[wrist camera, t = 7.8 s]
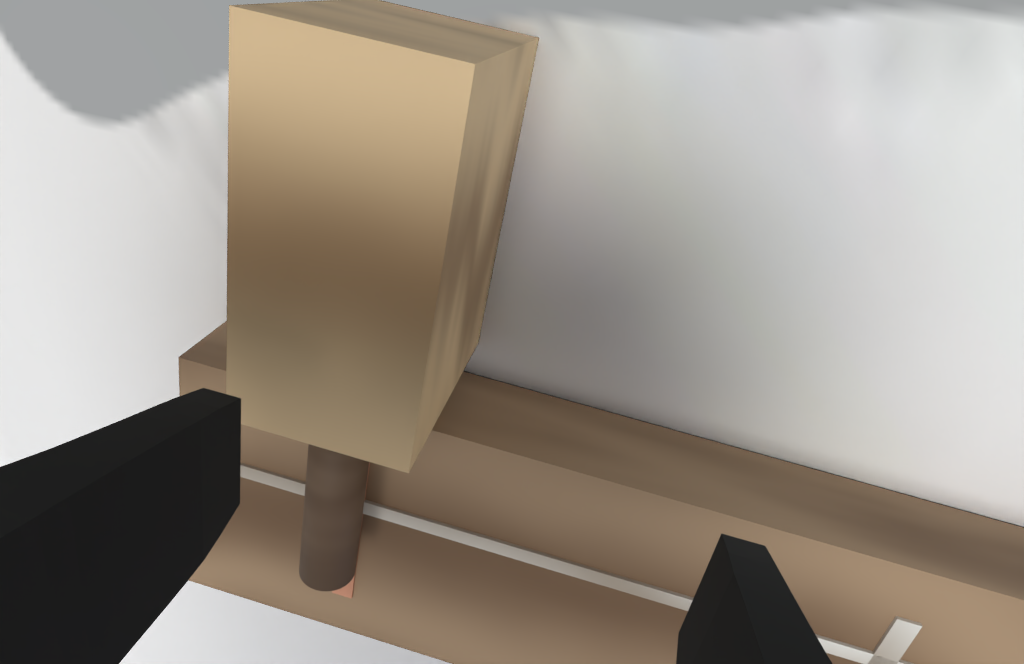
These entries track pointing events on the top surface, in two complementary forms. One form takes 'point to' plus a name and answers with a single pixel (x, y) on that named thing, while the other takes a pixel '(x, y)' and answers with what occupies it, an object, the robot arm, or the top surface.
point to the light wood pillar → (361, 233)
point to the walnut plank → (609, 541)
